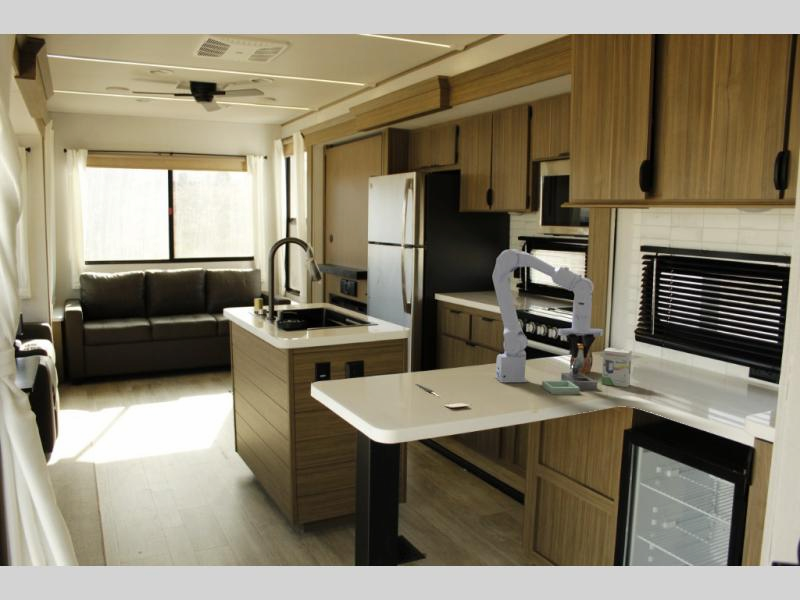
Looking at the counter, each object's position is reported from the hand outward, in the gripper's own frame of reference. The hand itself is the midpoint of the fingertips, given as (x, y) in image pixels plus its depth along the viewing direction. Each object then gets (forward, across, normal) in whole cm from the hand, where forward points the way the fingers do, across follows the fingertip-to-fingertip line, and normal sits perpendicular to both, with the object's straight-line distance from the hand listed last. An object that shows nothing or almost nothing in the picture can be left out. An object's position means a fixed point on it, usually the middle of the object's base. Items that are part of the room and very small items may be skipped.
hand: (578, 357), depth 221 cm
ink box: (+10, +15, +4) cm, 19 cm away
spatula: (+11, -48, -8) cm, 50 cm away
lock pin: (+3, 0, 0) cm, 3 cm away
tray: (+10, -7, -3) cm, 13 cm away
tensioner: (+10, +2, +4) cm, 11 cm away
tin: (+10, +9, +19) cm, 23 cm away
